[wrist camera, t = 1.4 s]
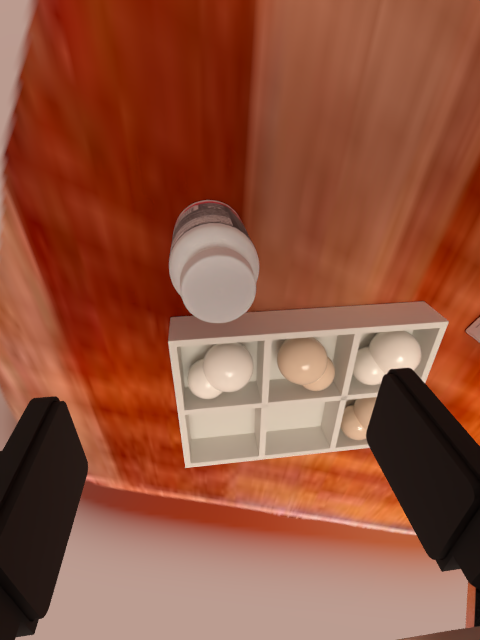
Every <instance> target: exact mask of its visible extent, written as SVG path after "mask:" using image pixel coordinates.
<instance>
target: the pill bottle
mask: <svg viewBox="0 0 480 640" xmlns="http://www.w3.org/2000/svg"><path fill="white" fill-rule="evenodd" d="M169 273H170V278H171V281H172V284H173V286H174V288H175V289H176V291H177V292H178V293H179V295H180V296H181V297H182V300H183V303H184V305H185V306H186V308H187V309H188V310H189V312H190V313H191V314H193V315H194V316H195V317H197V318H198V319H200V320H203V321H205V322H209V323H226V322H230V321H232V320H235V319H237V318H239V317H240V316H242V315H243V314H244V313H245V312H246V311H247V310H248V309H249V308H250V306H251V305H252V303H253V301H254V298H255V294H256V282H257V279H258V275H259V259H258V255H257V252H256V249H255V246H254V244H253V243H252V241H251V239H250V238H249V236H248V233H247V231H246V229H245V227H244V225H243V223H242V221H241V219H240V217H239V216H238V214H237V213H236V212H235V211H234V210H233V209H232V208H231V207H230V206H228V205H226V204H225V203H222V202H219V201H215V200H202V201H198V202H195V203H193V204H191V205H189V206H188V207H187V208H186V209H184V210H183V212H182V213H181V214H180V216H179V217H178V219H177V221H176V224H175V227H174V232H173V238H172V245H171V252H170V258H169Z"/></svg>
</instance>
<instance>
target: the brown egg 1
mask: <svg viewBox="0 0 480 640" xmlns="http://www.w3.org/2000/svg"><path fill="white" fill-rule="evenodd" d="M277 364H278V368H279V370H280V372H281V374H282V375H283V376H284V377H285V378H286V379H287V380H288V381H290V382H292V383H295V384H298V385H302V386H303V387H304V388H306V389H308V390H311V391H320V390H324V389H326V388H327V387H328V386H330V385H331V383H332V382H333V380H334V377H335V367H334V364H333V362H332V361H331V359H330V358H329V357H328V356H327V353H326V350H325V348H324V346H323V345H322V344H321V343H320V342H319V341H318V340H317V339H315V338H314V337H307V338H293V339H287V340H286V341H285V342H284V343H283V344H282V345H281V347H280V348H279V351H278V354H277Z"/></svg>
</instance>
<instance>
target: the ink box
mask: <svg viewBox="0 0 480 640" xmlns="http://www.w3.org/2000/svg"><path fill="white" fill-rule="evenodd" d="M466 333H468V334H469V335H470V336H471V337H473V338H474V339H475V340H477V341H478V342H479V343H480V317H479V318H478V319H477V320H476V321H475V322H474V323H473V324H472V325H471V326H470V327H468V328H467V329H466Z"/></svg>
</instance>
